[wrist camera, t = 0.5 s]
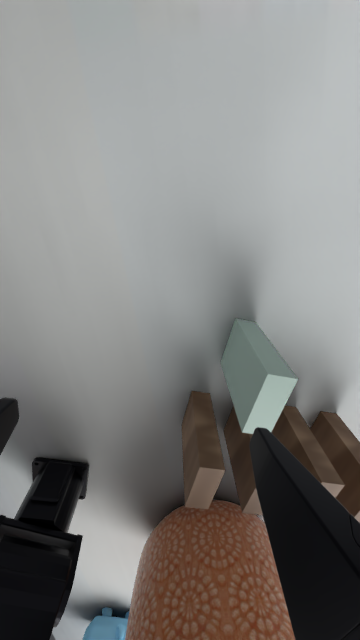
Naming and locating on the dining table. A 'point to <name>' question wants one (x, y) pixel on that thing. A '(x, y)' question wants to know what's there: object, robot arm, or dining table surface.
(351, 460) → the domino
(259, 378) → the domino
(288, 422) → the domino
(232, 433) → the domino
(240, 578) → the planter
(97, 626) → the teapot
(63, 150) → the dining table surface
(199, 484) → the domino
